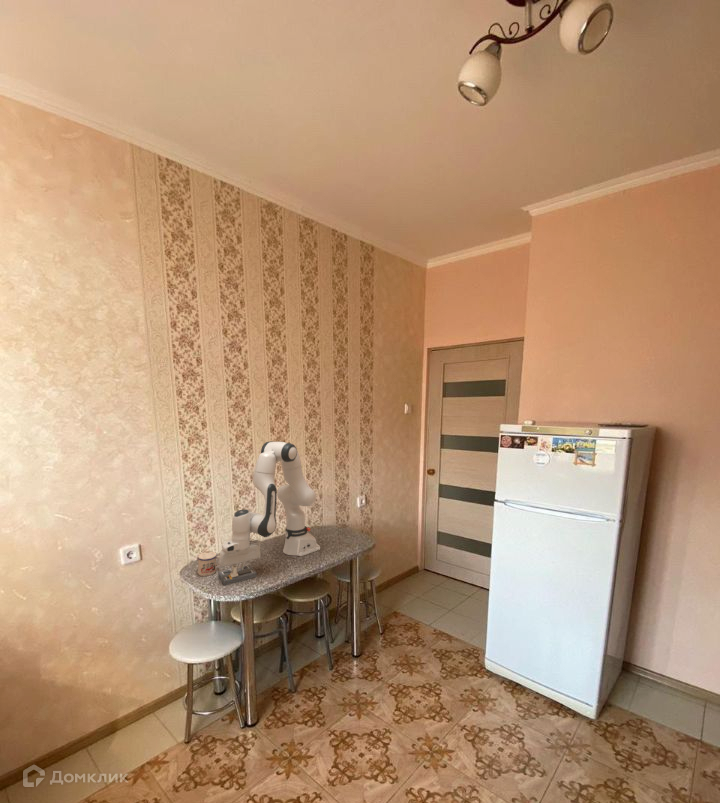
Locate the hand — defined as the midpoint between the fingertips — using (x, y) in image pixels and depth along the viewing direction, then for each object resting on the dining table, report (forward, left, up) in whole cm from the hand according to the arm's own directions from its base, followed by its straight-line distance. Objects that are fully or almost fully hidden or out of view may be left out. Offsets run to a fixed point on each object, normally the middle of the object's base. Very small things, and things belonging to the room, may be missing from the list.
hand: (239, 570), depth 183 cm
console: (0, -3, -4) cm, 5 cm away
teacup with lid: (+11, -16, -5) cm, 20 cm away
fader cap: (+3, 0, -2) cm, 3 cm away
